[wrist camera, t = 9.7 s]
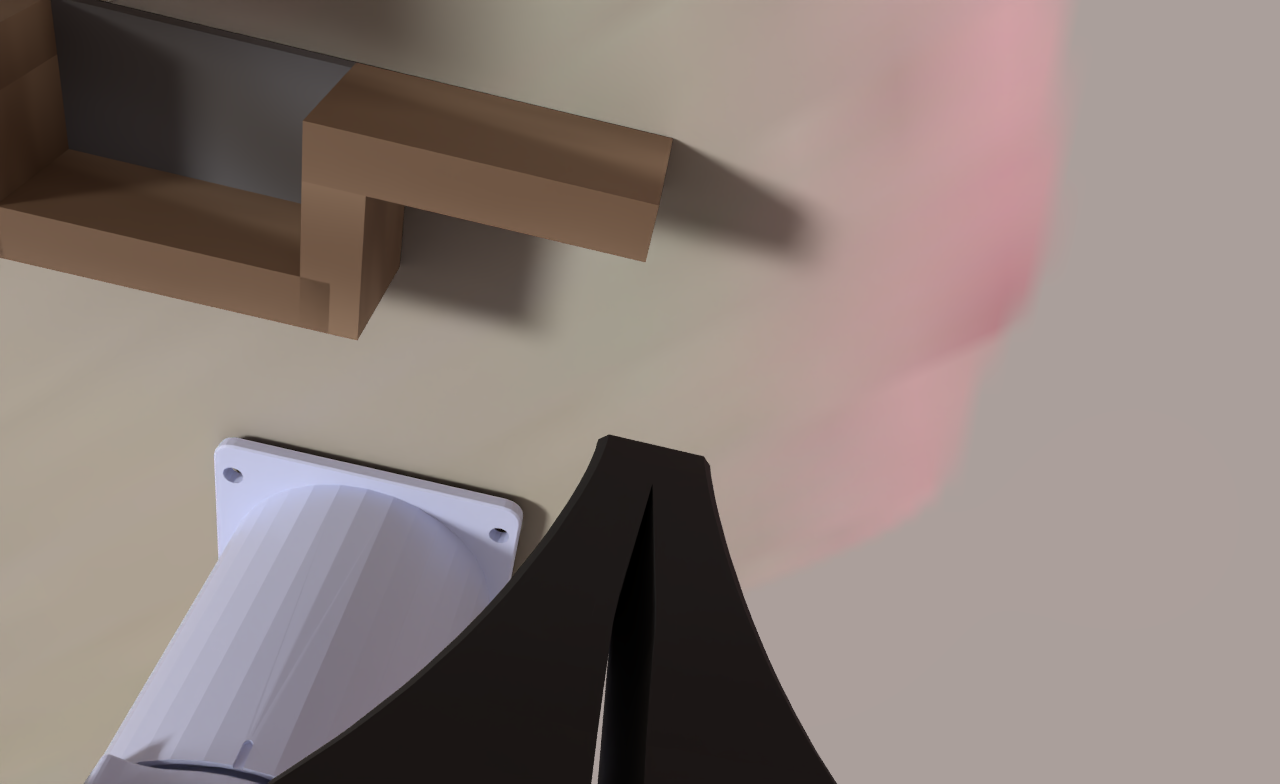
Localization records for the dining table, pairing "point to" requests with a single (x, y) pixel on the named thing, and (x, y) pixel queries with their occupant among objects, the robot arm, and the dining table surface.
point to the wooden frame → (277, 164)
